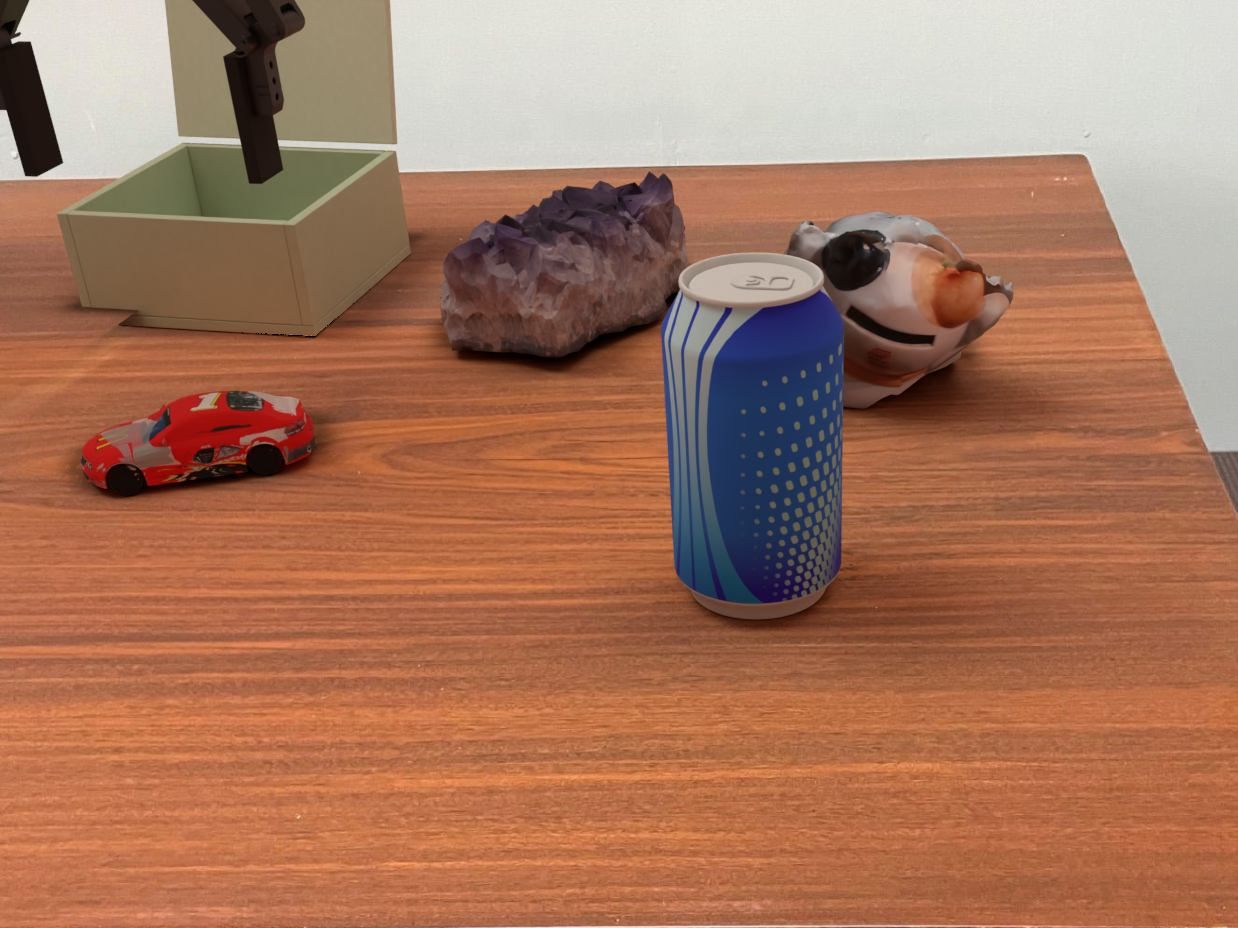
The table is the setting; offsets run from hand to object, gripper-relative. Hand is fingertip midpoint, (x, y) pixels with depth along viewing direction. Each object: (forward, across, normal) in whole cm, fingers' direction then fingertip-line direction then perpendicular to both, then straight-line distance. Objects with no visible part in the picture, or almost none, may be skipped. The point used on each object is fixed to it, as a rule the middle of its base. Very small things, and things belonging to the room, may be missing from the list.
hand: (154, 174), depth 90 cm
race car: (+16, -2, +5) cm, 16 cm away
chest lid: (-2, +9, -35) cm, 36 cm away
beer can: (+16, -37, +13) cm, 42 cm away
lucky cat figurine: (+16, -39, -14) cm, 44 cm away
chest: (+15, +9, -24) cm, 30 cm away
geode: (+16, -17, -21) cm, 31 cm away
